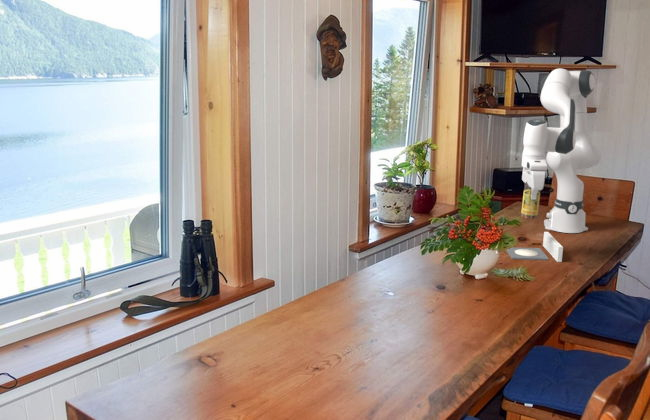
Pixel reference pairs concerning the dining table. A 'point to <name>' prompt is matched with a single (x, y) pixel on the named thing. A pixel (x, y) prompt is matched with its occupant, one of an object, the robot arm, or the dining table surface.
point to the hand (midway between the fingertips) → (530, 197)
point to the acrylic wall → (552, 246)
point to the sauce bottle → (529, 204)
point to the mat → (527, 253)
